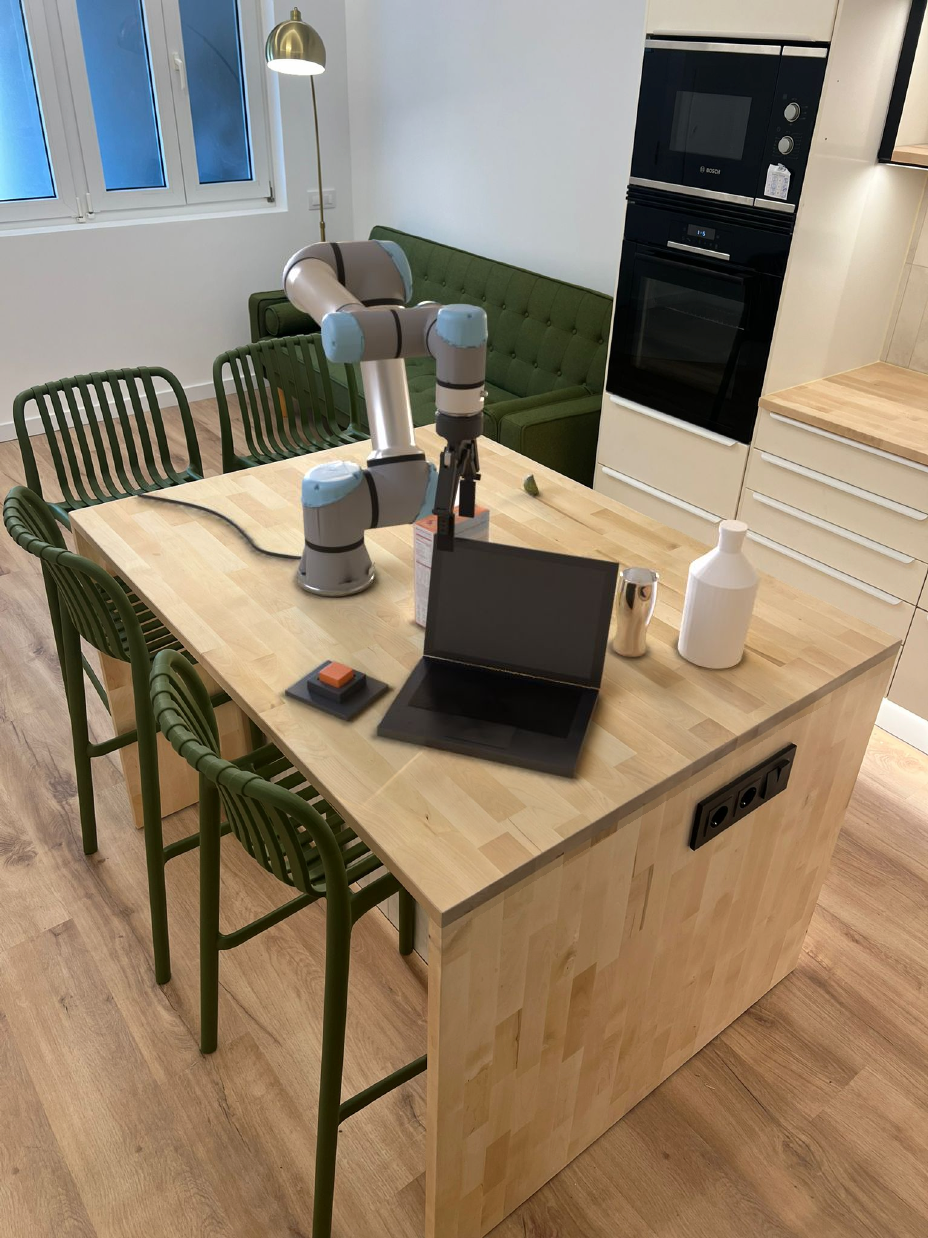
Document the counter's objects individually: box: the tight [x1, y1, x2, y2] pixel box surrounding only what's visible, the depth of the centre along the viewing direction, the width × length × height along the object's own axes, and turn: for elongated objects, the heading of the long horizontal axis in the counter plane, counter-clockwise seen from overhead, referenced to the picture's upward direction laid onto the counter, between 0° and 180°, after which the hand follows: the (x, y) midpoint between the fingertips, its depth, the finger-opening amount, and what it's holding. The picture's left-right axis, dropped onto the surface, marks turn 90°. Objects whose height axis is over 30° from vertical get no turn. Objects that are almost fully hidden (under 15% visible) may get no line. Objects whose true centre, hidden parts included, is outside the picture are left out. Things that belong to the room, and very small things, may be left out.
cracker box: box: [413, 503, 490, 629], centre depth 172 cm, size 14×6×21 cm, turn 134°
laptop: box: [376, 654, 601, 779], centre depth 150 cm, size 22×31×2 cm
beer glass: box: [611, 566, 660, 658], centre depth 166 cm, size 7×7×15 cm
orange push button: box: [284, 659, 390, 723], centre depth 155 cm, size 13×11×3 cm
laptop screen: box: [422, 533, 620, 690], centre depth 156 cm, size 22×31×1 cm
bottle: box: [677, 519, 761, 670], centre depth 163 cm, size 12×12×25 cm
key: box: [319, 660, 354, 688], centre depth 154 cm, size 4×4×2 cm
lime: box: [523, 473, 540, 496], centre depth 227 cm, size 4×5×5 cm
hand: (456, 532), depth 157 cm, fingers open, 13 cm apart
